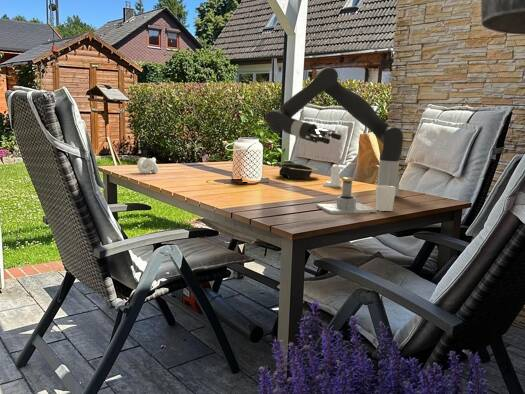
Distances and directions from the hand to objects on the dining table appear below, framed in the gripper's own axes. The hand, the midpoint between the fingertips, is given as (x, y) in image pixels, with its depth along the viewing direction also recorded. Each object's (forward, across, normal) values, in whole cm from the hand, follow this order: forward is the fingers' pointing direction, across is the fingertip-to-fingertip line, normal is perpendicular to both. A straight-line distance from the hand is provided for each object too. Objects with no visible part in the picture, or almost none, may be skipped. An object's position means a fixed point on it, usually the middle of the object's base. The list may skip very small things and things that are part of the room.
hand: (335, 139), depth 205 cm
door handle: (-59, +17, +44) cm, 76 cm away
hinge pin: (+14, -7, +24) cm, 29 cm away
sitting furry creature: (-20, +40, +40) cm, 60 cm away
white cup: (+26, +4, +25) cm, 36 cm away
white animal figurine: (-116, -9, +50) cm, 127 cm away
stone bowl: (-52, +50, +48) cm, 87 cm away
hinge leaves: (+14, -7, +25) cm, 30 cm away
